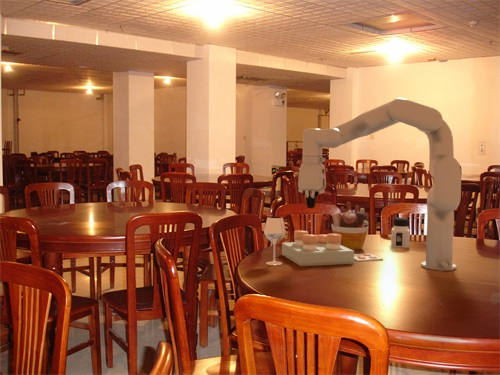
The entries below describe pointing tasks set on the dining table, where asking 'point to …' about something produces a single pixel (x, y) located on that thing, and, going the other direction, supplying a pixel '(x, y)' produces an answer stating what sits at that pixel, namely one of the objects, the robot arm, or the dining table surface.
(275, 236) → the wineglass
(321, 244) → the button
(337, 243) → the button
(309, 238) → the button
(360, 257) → the pattern tile
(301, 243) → the button
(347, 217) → the bucket of meat
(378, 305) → the dining table surface
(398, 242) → the container
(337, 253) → the board
